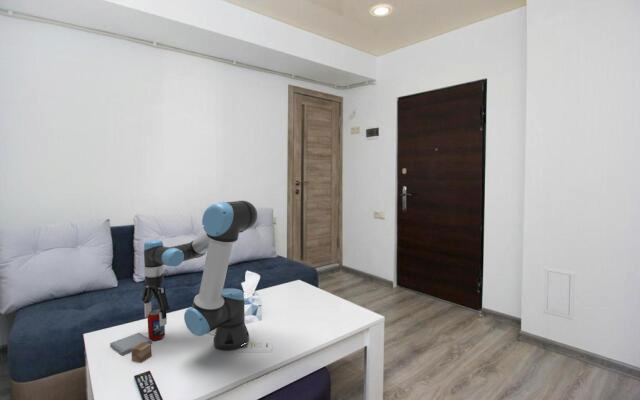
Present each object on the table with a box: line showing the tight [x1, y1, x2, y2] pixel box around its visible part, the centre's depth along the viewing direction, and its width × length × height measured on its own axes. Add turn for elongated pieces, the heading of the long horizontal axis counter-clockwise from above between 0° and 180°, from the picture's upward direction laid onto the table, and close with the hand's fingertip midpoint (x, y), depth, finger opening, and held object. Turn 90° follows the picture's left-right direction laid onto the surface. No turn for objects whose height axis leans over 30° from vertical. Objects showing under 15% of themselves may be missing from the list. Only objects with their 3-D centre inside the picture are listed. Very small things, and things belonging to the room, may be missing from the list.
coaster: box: [109, 332, 153, 356], centre depth 143 cm, size 12×12×2 cm
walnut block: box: [130, 342, 153, 363], centre depth 133 cm, size 5×5×5 cm
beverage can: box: [147, 308, 166, 341], centre depth 150 cm, size 7×7×12 cm
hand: (155, 320), depth 150 cm, fingers open, 13 cm apart
